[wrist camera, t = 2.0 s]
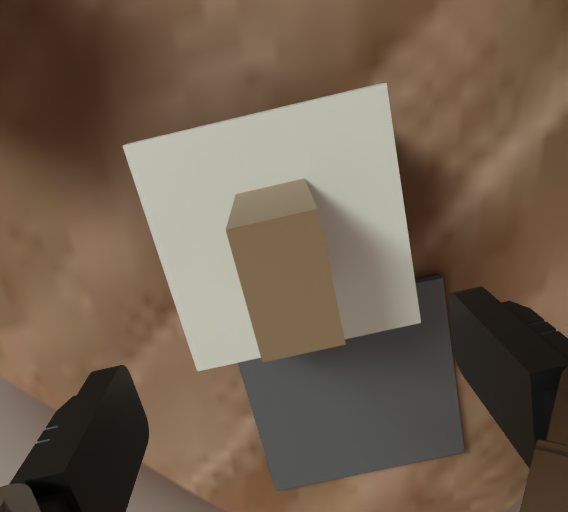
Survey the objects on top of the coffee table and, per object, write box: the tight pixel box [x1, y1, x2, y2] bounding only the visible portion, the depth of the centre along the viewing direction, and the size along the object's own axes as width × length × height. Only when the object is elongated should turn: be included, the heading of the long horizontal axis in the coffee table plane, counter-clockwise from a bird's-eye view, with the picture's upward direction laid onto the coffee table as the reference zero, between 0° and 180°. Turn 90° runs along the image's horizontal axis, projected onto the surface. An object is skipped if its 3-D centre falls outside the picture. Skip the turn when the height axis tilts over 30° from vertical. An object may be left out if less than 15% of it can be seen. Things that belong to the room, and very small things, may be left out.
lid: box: [123, 83, 421, 371], centre depth 19 cm, size 11×11×6 cm
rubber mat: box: [238, 274, 464, 491], centre depth 33 cm, size 14×14×1 cm
